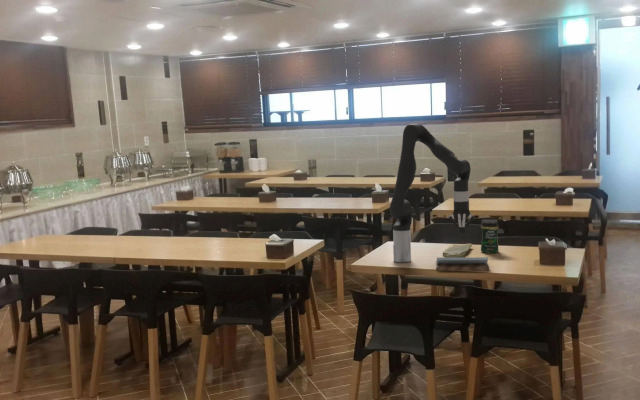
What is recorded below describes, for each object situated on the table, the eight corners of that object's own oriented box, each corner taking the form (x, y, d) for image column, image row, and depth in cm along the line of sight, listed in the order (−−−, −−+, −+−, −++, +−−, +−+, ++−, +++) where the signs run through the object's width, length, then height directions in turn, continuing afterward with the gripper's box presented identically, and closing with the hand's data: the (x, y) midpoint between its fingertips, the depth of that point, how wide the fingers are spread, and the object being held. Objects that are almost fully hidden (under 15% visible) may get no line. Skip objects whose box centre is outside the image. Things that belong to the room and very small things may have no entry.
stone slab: (439, 253, 338) (453, 240, 365) (440, 260, 339) (453, 247, 366) (462, 254, 333) (474, 241, 359) (462, 261, 334) (474, 248, 360)
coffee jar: (481, 253, 345) (480, 220, 343) (480, 250, 353) (480, 218, 351) (499, 253, 343) (498, 220, 341) (498, 250, 351) (498, 218, 348)
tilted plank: (437, 259, 312) (436, 257, 312) (437, 264, 319) (437, 261, 319) (487, 259, 307) (487, 257, 308) (486, 264, 314) (486, 261, 315)
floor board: (436, 270, 311) (436, 265, 311) (436, 263, 326) (435, 258, 326) (489, 270, 306) (489, 265, 306) (486, 263, 321) (486, 258, 321)
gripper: (447, 201, 304) (448, 235, 306) (475, 200, 301) (475, 235, 303) (447, 199, 311) (448, 233, 313) (474, 198, 309) (474, 232, 311)
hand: (461, 234), depth 308 cm, fingers closed
